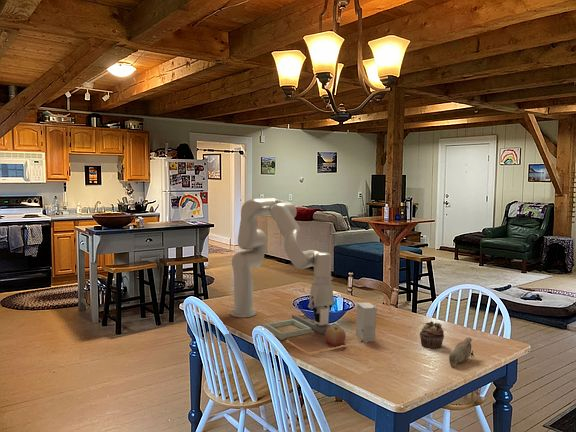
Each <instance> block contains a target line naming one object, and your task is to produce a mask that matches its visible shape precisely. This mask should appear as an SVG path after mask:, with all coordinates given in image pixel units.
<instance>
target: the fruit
mask: <svg viewBox="0 0 576 432" xmlns="http://www.w3.org/2000/svg"><path fill="white" fill-rule="evenodd" d="M324 336H325V340H326V342H327V343H328V344H329V345H331V346H334V347H336V348H337V347H340V346H342V345H343V344H344V343H345V341H346V339H347V338H346V336H347V335H346V332H345V330H344V329H343V328H342V327H341V326H339V325H335V324H334V325H332V326H330V327H329V328H328V329H327V330H326V333H325V334H324Z"/></svg>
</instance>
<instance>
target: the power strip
mask: <svg viewBox="0 0 576 432" xmlns="http://www.w3.org/2000/svg"><path fill="white" fill-rule="evenodd" d="M304 314H305V313H299V314H296V315H294V314H292V315H291V317H292V319H294V320H296V321H298V322H300V323H302V324H304V325H306V326H308V327H310V328H311V330H313V331H315V332H317V333H319V334H321V335H325V333H326V330H327V329H328V328H329V327H330V326H332V325H331V324H330V323H328V324H326V325H324V326H318V324H317V323H315V322H314V321H315V320H311V319H309V318H307V317H306V316H305V315H304Z"/></svg>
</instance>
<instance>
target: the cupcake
mask: <svg viewBox="0 0 576 432" xmlns="http://www.w3.org/2000/svg"><path fill="white" fill-rule="evenodd" d="M442 326H443V325H442V324H441V323H440V322H438V323H437V322H435V323H434V321H432V320H431V321H430V322H427V323H425V324H423V327H422V328H421V331H420V332H419V337H420V344H421V347H423V348H424V349H429V350H440V349H441V348H442V346H443V342H444V338H445V334H444V333H445V332H444V330H443V327H442Z"/></svg>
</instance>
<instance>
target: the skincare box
mask: <svg viewBox="0 0 576 432" xmlns="http://www.w3.org/2000/svg"><path fill="white" fill-rule="evenodd" d="M356 305H357V306H356V324H355V335H356V336H358V337H359V338H360V339H361V342H362V343H367V342H375V341H376V326H377V313H378V312H377V309H378V308H377V307H376V306H375V305H373V304H372V303H370V302H357V304H356Z"/></svg>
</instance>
